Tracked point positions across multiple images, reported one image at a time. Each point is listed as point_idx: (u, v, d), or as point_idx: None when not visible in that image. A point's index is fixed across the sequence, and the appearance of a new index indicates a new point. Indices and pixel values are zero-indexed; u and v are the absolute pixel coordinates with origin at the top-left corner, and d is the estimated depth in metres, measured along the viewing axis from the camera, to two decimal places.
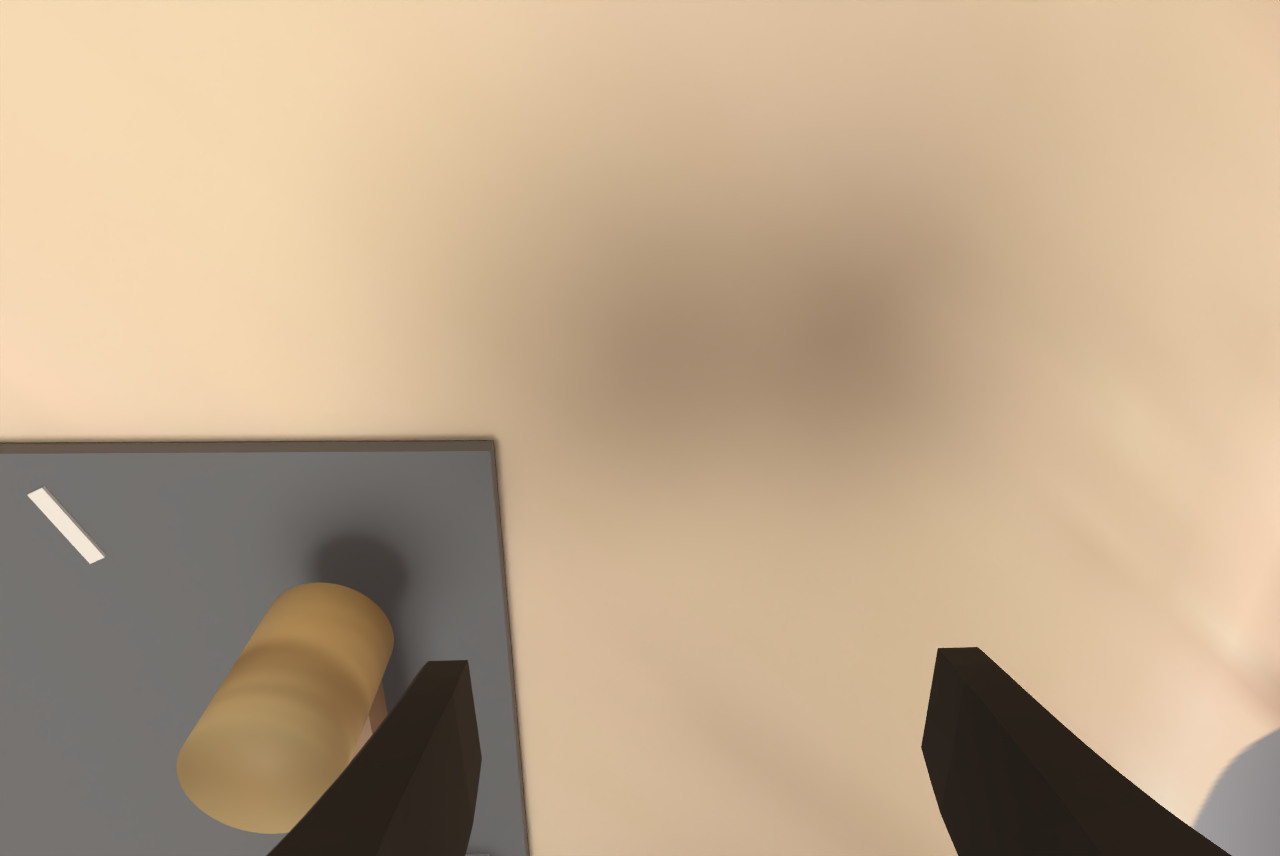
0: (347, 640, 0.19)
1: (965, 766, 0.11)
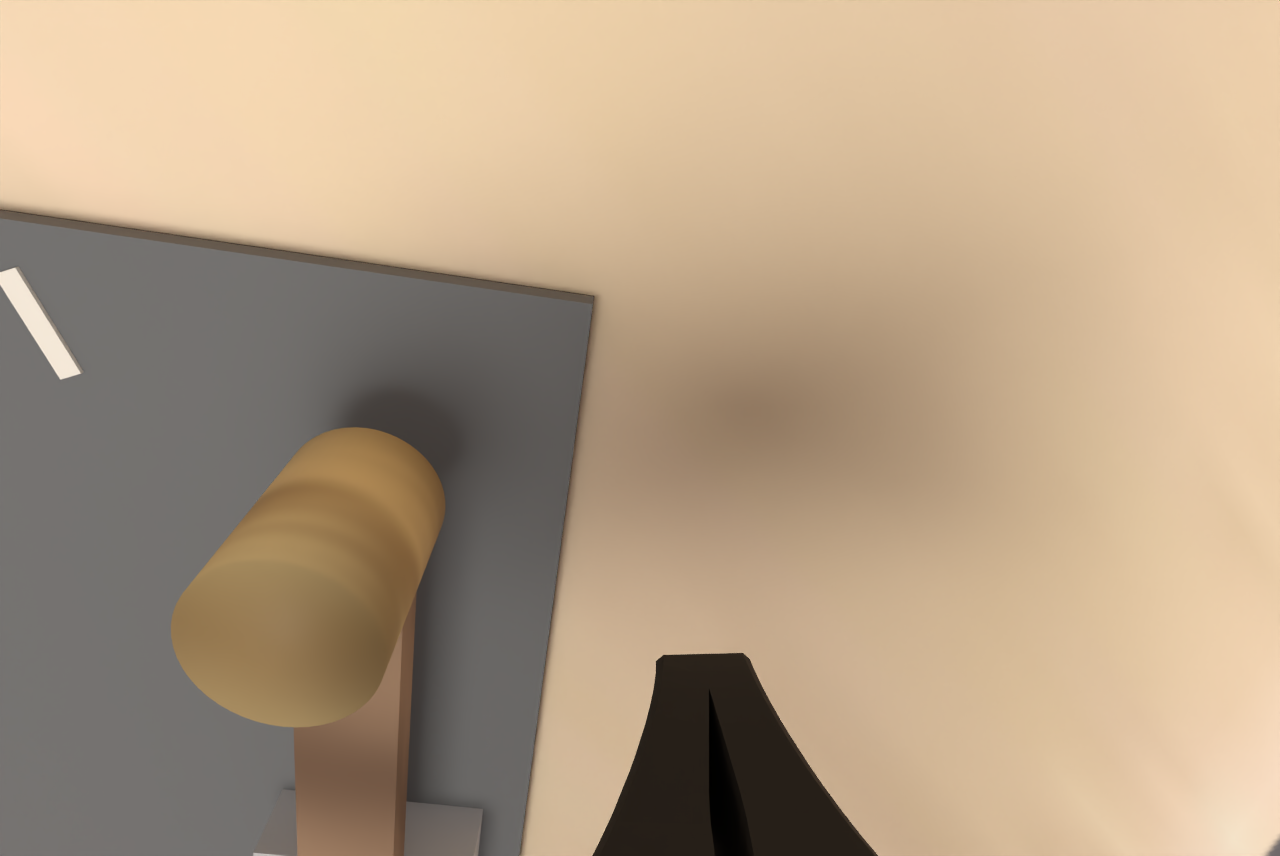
0: (402, 497, 0.15)
1: (712, 772, 0.11)
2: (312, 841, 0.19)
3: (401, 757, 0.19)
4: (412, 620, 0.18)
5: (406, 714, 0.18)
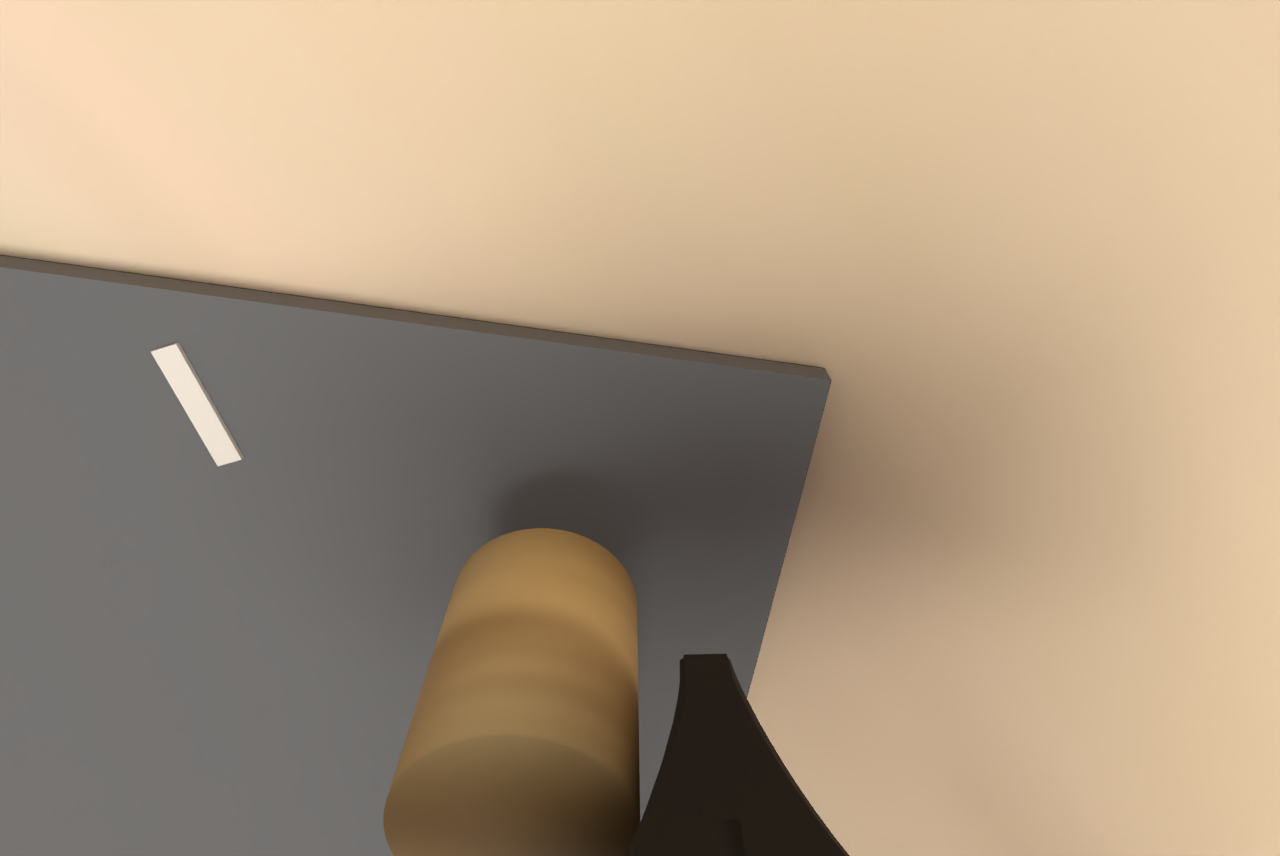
0: (612, 616, 0.13)
1: None
2: None
3: None
4: None
5: None
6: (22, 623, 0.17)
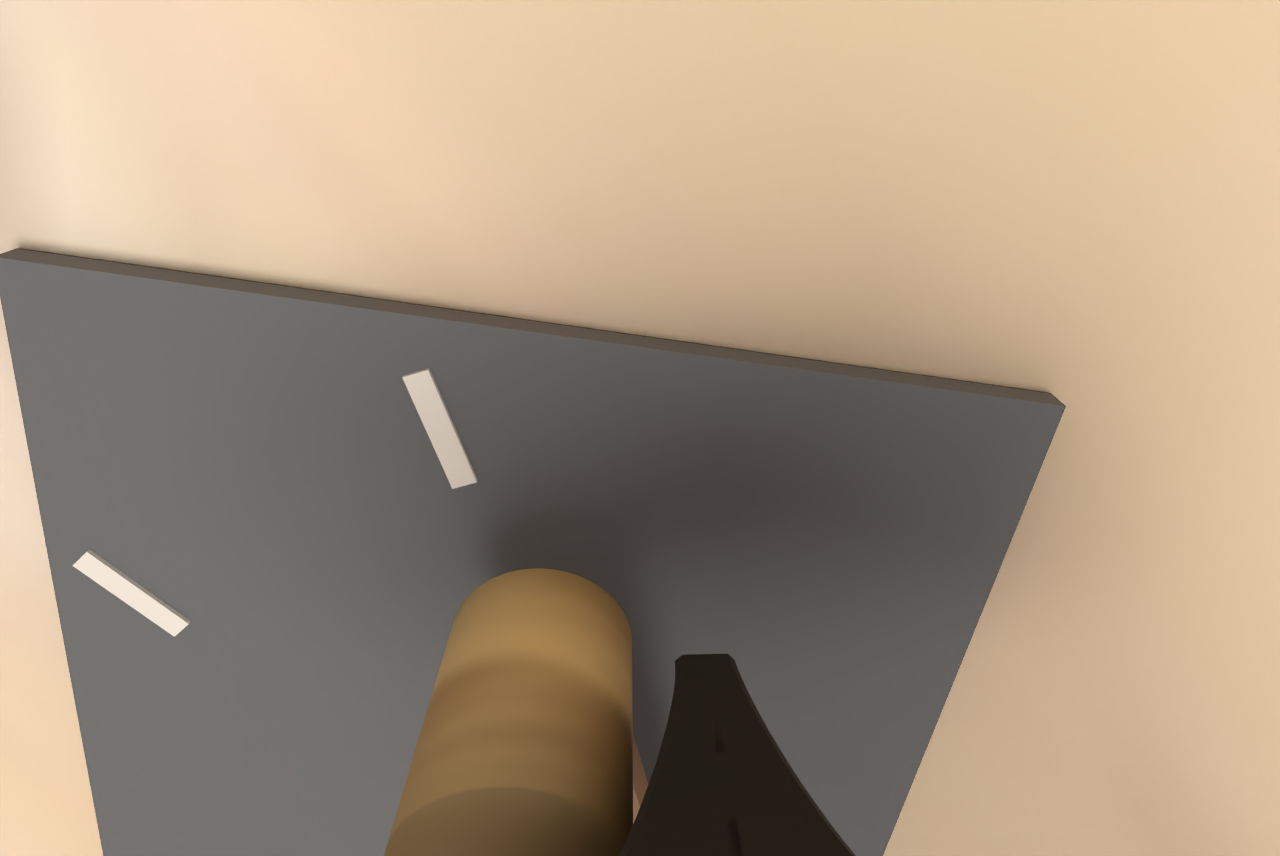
0: (582, 642, 0.13)
1: None
2: None
3: None
4: (635, 752, 0.15)
5: None
6: (236, 640, 0.17)
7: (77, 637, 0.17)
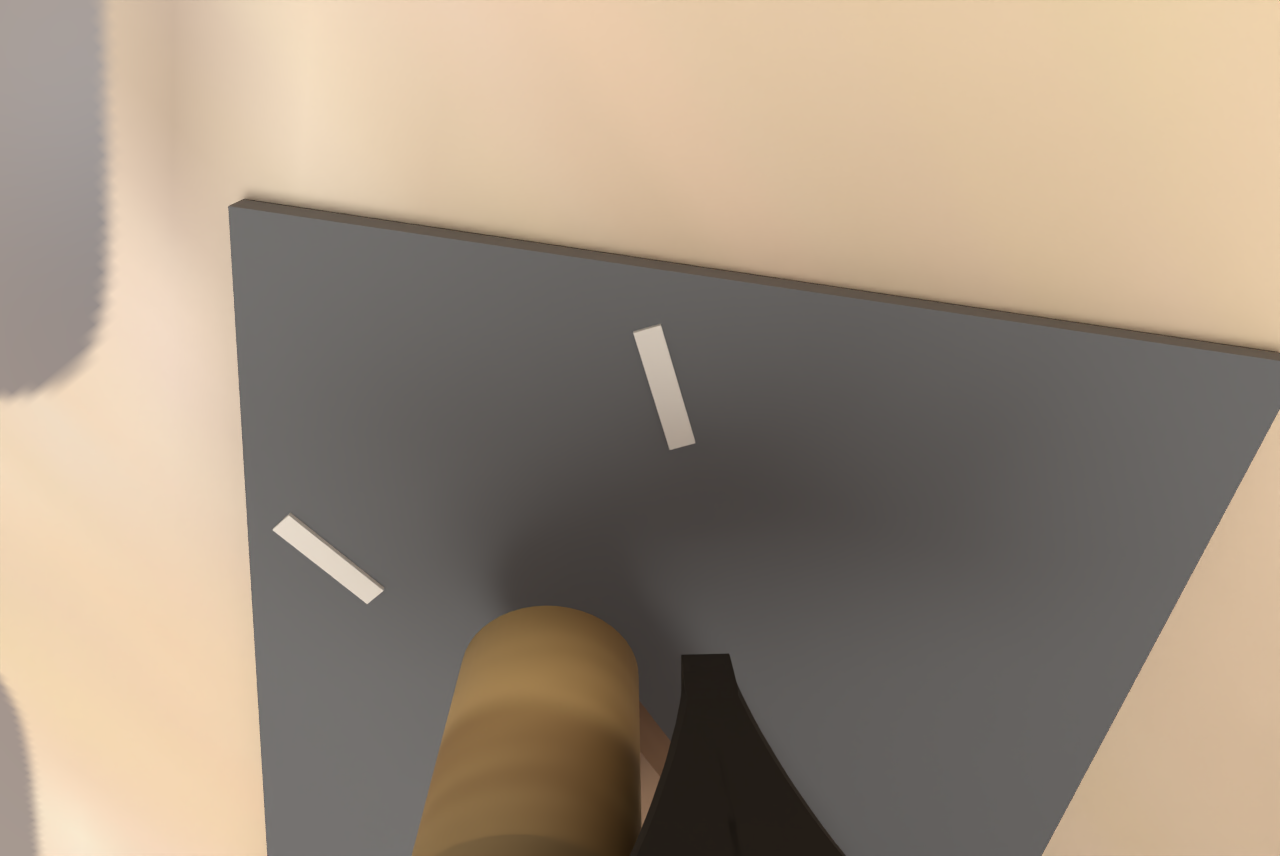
0: (561, 673, 0.13)
1: None
2: None
3: None
4: None
5: None
6: (428, 608, 0.17)
7: (267, 605, 0.17)
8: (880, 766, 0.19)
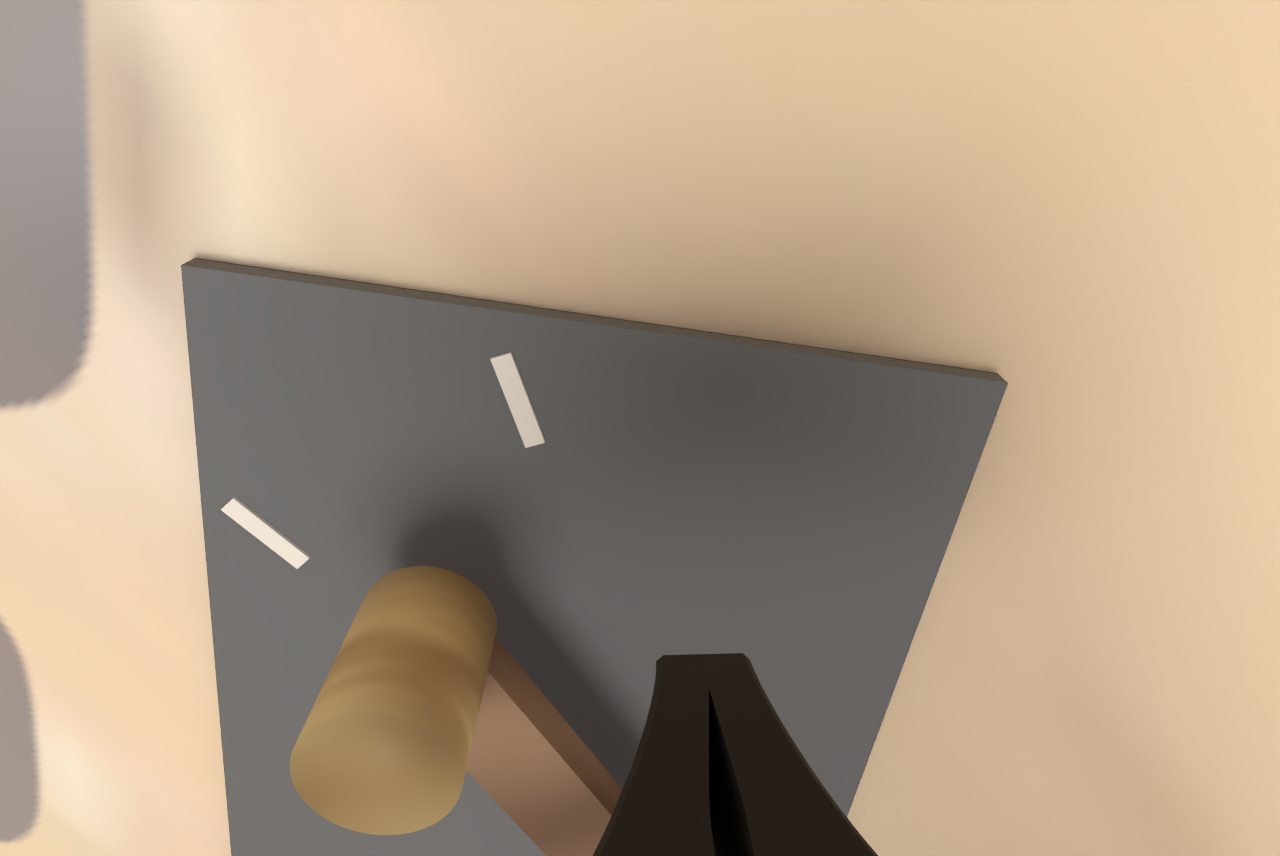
0: (422, 612, 0.17)
1: (713, 772, 0.11)
2: None
3: (602, 790, 0.21)
4: (529, 686, 0.20)
5: (583, 756, 0.21)
6: (346, 572, 0.22)
7: (218, 569, 0.22)
8: None
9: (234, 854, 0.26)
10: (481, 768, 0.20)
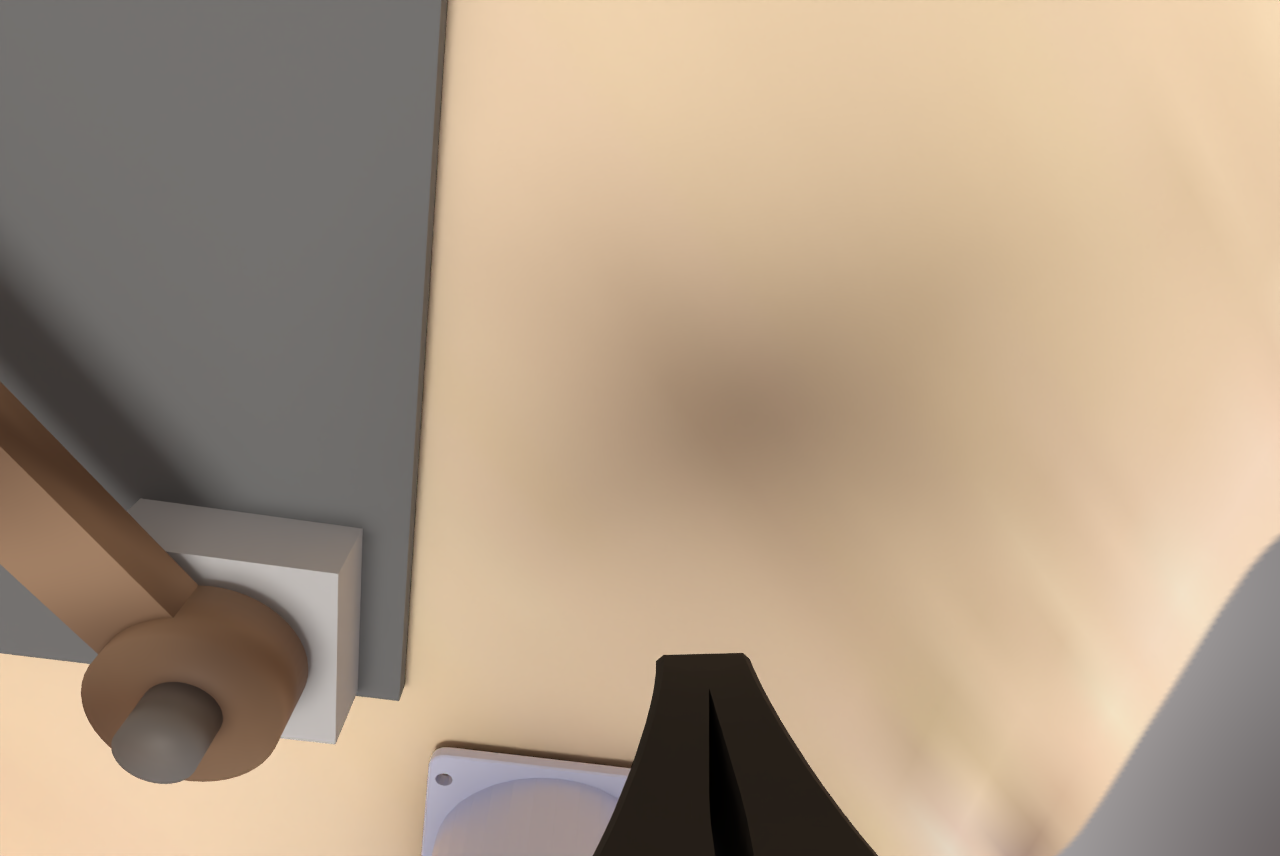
0: None
1: (712, 772, 0.11)
2: None
3: None
4: None
5: None
6: None
7: None
8: (209, 350, 0.19)
9: None
10: None
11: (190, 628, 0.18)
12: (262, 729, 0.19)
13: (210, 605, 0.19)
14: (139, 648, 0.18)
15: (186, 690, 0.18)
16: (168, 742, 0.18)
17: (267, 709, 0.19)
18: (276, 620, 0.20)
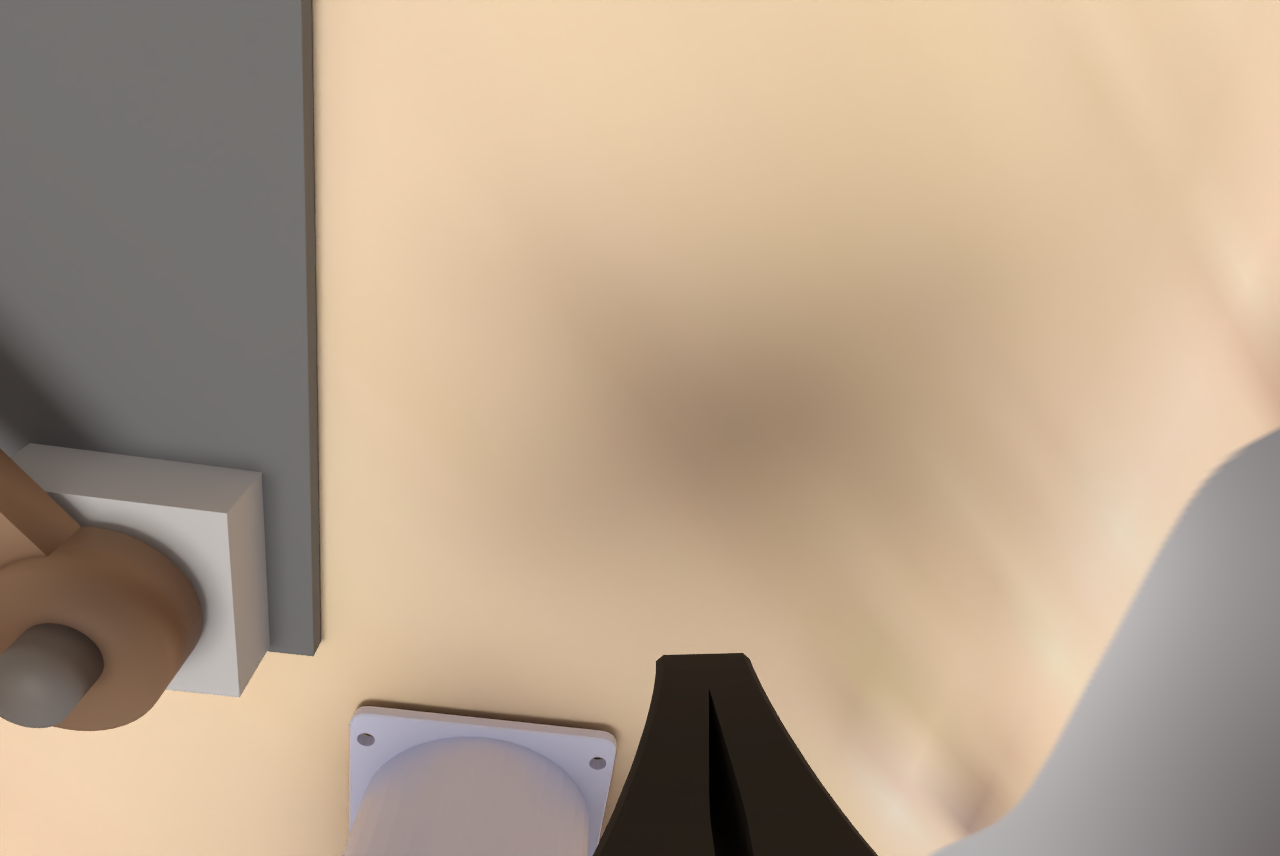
0: None
1: (712, 772, 0.11)
2: None
3: None
4: None
5: None
6: None
7: None
8: (87, 283, 0.19)
9: None
10: None
11: (64, 566, 0.18)
12: (146, 673, 0.18)
13: (90, 544, 0.18)
14: (10, 587, 0.17)
15: (61, 631, 0.18)
16: (37, 682, 0.17)
17: (148, 652, 0.18)
18: (162, 562, 0.19)
